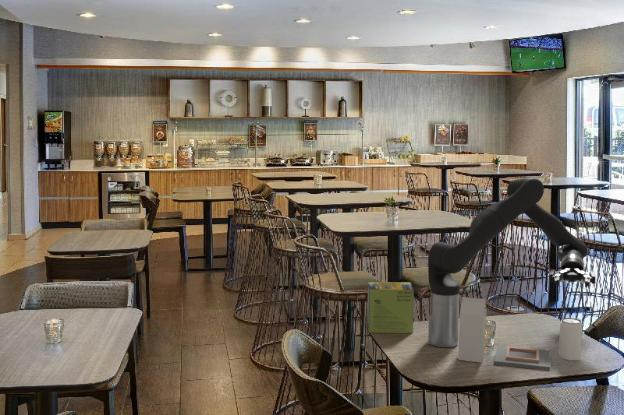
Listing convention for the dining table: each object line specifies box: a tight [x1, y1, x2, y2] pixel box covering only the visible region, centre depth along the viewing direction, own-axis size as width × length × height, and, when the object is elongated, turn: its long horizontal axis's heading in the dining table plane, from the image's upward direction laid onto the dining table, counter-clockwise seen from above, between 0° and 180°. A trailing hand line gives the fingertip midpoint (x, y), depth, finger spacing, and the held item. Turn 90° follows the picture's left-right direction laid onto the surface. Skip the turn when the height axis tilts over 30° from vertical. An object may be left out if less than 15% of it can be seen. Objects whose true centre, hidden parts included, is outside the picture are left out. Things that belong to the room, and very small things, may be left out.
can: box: [558, 317, 583, 362], centre depth 214 cm, size 6×6×12 cm
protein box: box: [366, 281, 415, 334], centre depth 242 cm, size 10×15×16 cm
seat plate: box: [493, 344, 551, 371], centre depth 214 cm, size 16×15×2 cm
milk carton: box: [457, 296, 487, 364], centre depth 213 cm, size 7×7×19 cm
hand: (572, 284), depth 222 cm, fingers open, 8 cm apart
